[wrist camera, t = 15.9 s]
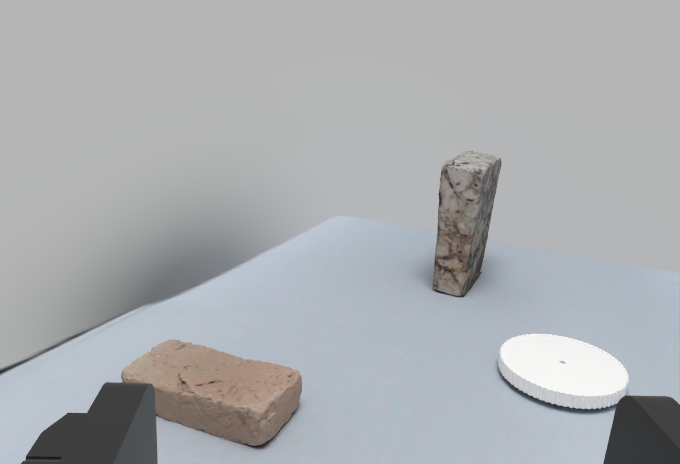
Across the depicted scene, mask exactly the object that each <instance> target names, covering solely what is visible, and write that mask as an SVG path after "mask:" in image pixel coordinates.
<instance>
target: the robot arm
mask: <svg viewBox="0 0 680 464" xmlns="http://www.w3.org/2000/svg"><path fill="white" fill-rule="evenodd" d="M21 464H157V435H156V408H155V391H154V387H153V385H152V384H151V383H108V382H107V383H105V384H104V385H103V386H102V388H101V390H100V391H99V393H98V395H97V397H96V398H95V400H94V402H93V404H92V405H91V407H90V409H89V411H88V412H87V413H67V414H66V415H65V416H63V417H62V418H61V419H59V420H58V421H57V422H55V423H54V424H53V425H51V426H50V427H48V428H47V429H46V430H44V431H43V432H42V433H41V434H40V436H39V437H38V439H37V440H36V442H35V443H34V445H33V447H32V448H31V450H30V451H29V453H28V454H27V456H26V460H25V461H23V462H22V463H21ZM604 464H680V405H679V404H678V403H677V402H676V401H675V400H674V399H672V398H671V397H666V396H624V397H622V398H621V399H620V400H619V402H618V404H617V407H616V411H615V415H614V420H613V424H612V428H611V433H610V437H609V442H608V446H607V451H606V455H605V459H604Z"/></svg>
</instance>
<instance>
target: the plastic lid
mask: <svg viewBox="0 0 680 464" xmlns="http://www.w3.org/2000/svg"><path fill="white" fill-rule="evenodd" d="M498 367H499V370H501V371H500V372H501V373H502V375H503V376H505V377H504V378H505V379H507V381H508V382H511V384H512V385H514V387H516V388H519V390H522V391H523V392H524V393H527V394H528V395H530V396H533V397H534V398H538V399H539V400H544V401H545V402H550V403H551V404H557V405H558V406H560V405H562V406H563V407H570V408H573V407H574V408H576V409H579V408H581V409H585V408H587V409H591V408H593V409H596V408H599V409H601V407H603V408H606V406H608V407H610V405H612V406H613V405H614V404H617V403H618V402H619V400H620V399H621V398H622V397H624V396H625V395H626V391H627V386H628V382H629V377H628V376H629V375H628V372H627V371H626V369H625V368H624V366H622V363H619V361H618V360H616V358H613V356H612V355H609V353H606V352H605V351H604V350H600V348H596V346H592V345H591V344H587V343H586V342H581V341H580V340H576V339H571V338H566V337H564V336H562V337H561V336H558V335H557V336H555V335H549V334H547V335H545V334H528V335H526V334H525V335H520V336H516V337H513V338H510V340H507V342H506V341H505V343H503V345H502V346H501V348H500V353H499V359H498Z"/></svg>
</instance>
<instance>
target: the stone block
mask: <svg viewBox="0 0 680 464" xmlns="http://www.w3.org/2000/svg"><path fill="white" fill-rule="evenodd" d="M500 168H501V158H500V157H495V156H492V155H488V154H482V153H478V152H473V151H468V152H465V153H462V154H460V155H458V156H457V157H456V158H453V159H450V160H447V161H446V162H445V163H444V165H443V166H442V172H441V178H440V190H439V209H438V234H437V244H436V254H435V271H434V281H433V289H435V290H438V291H441V292H444V293H448V294H451V295H454V296H458V297H462V296H463V297H464V296H465V295H466V294H467V292H468V291H469V290H470V289H471V287H472V286H473V284H474V282H475V281H476V279H477V278H478V277H479V275H480V274H481V272H480V269H481V266H482V261H483V257H484V251H485V247H486V242H487V238H488V230H489V224H490V219H491V213H492V208H493V202H494V197H495V193H496V188H497V183H498V177H499V173H500Z"/></svg>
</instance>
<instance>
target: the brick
mask: <svg viewBox="0 0 680 464" xmlns="http://www.w3.org/2000/svg"><path fill="white" fill-rule="evenodd" d="M121 378H122V381H123V382H122V383H151V384H152V385H153V387H154V391H155V408H156V415H157V416H159V417H161V418H163V419H166V420H169V421H173V422H177V423H180V424H183V425H184V426H187V427H191V428H194V429H197V430H204V432H206V433H209V434H212V435H215V436H218V437H221V438H224V439H228V440H230V441H233V442H240V443H243V444H249V445H252V446H257V445H262V444H264V443H265V442H267V441H269V440H270V439H272V438H273V437H274V436H275V435H276V434H277V433H278V432H279V430H280V428H281V427H282V426H283V425H284V424H285V423H286V422H288V421H289V419H290V417H291V415H292V413H293V412H295V411H296V409H297V407H298V405H299V400H300V394H301V391H302V379H301V375H300V373H299V371H297V370H292V369H291V368H289V367H285V366H281V365H277V364H272V363H267V362H262V361H254V360H243V359H242V358H241V357H236V356H234V355H230V354H227V353H224V352H219V351H217V350H214V349H211V348H208V347H205V346H202V345H193V344H192V343H186V342H180V341H179V340H168V341H166V342H164V343H161V344H159V345H157V346H156V347H153V348H152V350H151V352H147V353H146V354H144V355H143V356H142V357H141V358H138V359H137V360H136V361H134V362H133V363H132V364H131V365H129V366H127V367H126V368H124V370H123V371H122V375H121Z"/></svg>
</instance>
